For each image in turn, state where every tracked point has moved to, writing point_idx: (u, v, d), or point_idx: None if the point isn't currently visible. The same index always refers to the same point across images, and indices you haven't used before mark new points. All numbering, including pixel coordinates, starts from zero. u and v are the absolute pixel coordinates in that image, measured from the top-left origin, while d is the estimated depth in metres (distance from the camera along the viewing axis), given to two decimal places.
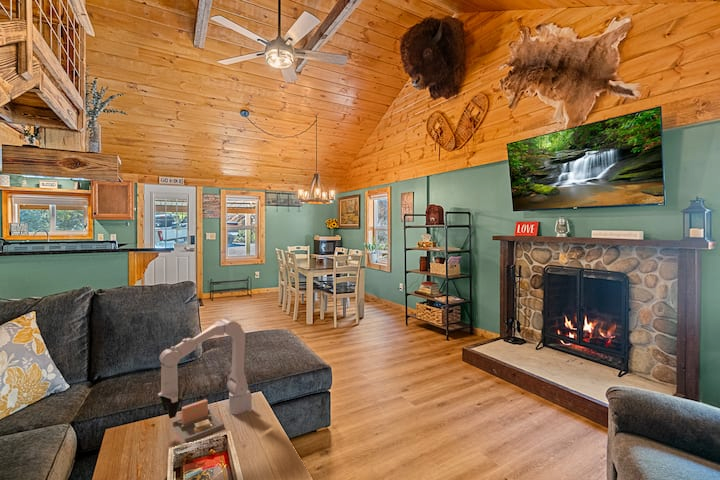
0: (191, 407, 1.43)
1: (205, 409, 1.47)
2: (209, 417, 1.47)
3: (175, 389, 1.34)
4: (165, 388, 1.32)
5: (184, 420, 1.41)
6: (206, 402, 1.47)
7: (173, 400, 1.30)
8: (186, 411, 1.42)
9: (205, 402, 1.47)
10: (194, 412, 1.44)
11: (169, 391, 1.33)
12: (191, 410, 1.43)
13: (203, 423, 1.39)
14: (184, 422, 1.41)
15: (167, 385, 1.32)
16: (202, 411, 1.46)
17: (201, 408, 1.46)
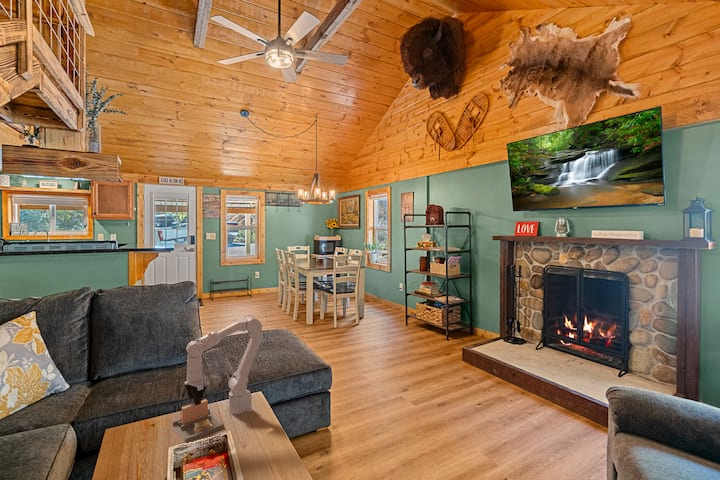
0: (191, 407, 1.43)
1: (205, 409, 1.47)
2: (209, 417, 1.47)
3: (200, 378, 1.44)
4: (191, 377, 1.42)
5: (184, 420, 1.41)
6: (206, 402, 1.47)
7: (199, 388, 1.39)
8: (186, 411, 1.42)
9: (205, 402, 1.47)
10: (194, 412, 1.44)
11: (195, 379, 1.42)
12: (191, 410, 1.43)
13: (203, 423, 1.39)
14: (184, 422, 1.41)
15: (193, 374, 1.42)
16: (202, 411, 1.46)
17: (201, 408, 1.46)
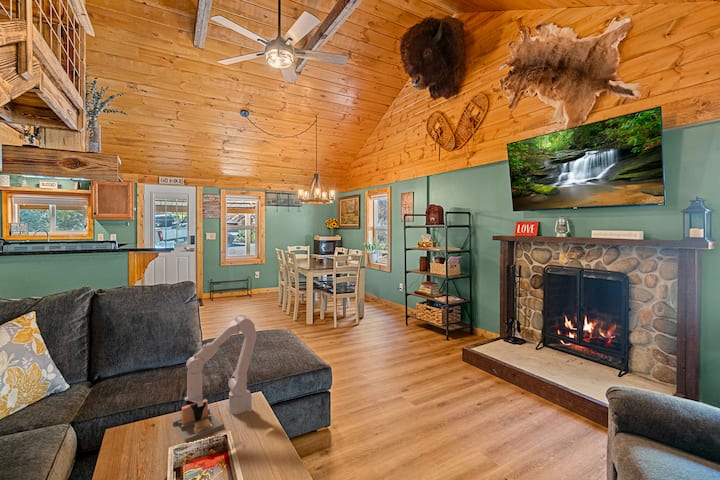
0: None
1: (205, 409, 1.47)
2: (209, 417, 1.47)
3: (200, 394, 1.44)
4: (191, 393, 1.42)
5: (184, 420, 1.41)
6: (206, 402, 1.47)
7: (199, 404, 1.39)
8: (186, 411, 1.42)
9: (205, 402, 1.47)
10: None
11: (195, 395, 1.42)
12: (191, 410, 1.43)
13: (203, 423, 1.39)
14: (184, 422, 1.41)
15: (193, 390, 1.42)
16: None
17: None
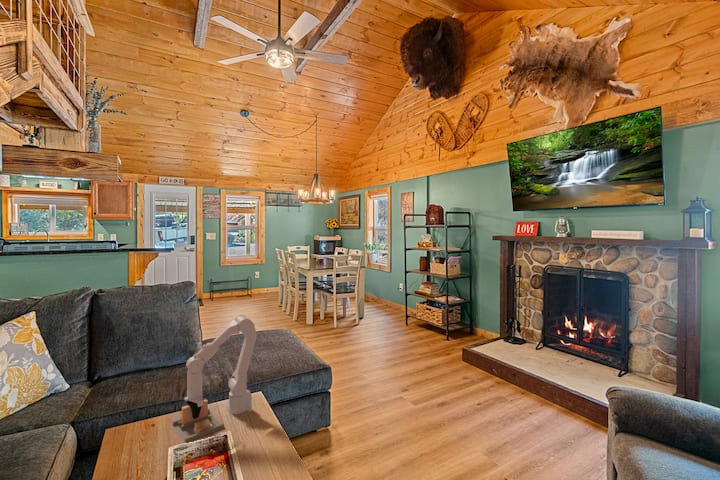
0: None
1: (205, 409, 1.47)
2: (209, 417, 1.47)
3: (200, 394, 1.44)
4: (191, 393, 1.42)
5: (184, 420, 1.41)
6: (206, 402, 1.47)
7: (199, 404, 1.39)
8: (186, 411, 1.42)
9: (205, 402, 1.47)
10: None
11: (195, 395, 1.42)
12: (191, 410, 1.43)
13: (203, 423, 1.39)
14: (184, 422, 1.41)
15: (193, 390, 1.42)
16: (202, 411, 1.46)
17: (201, 408, 1.46)
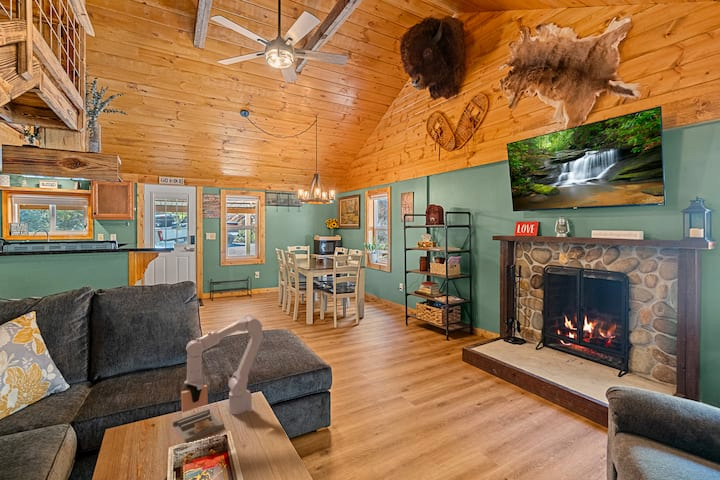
0: None
1: (205, 394, 1.47)
2: (209, 417, 1.47)
3: (200, 377, 1.44)
4: (191, 376, 1.42)
5: (184, 405, 1.41)
6: (206, 387, 1.47)
7: (199, 387, 1.39)
8: (186, 396, 1.42)
9: (205, 387, 1.47)
10: None
11: (194, 379, 1.42)
12: (191, 395, 1.43)
13: (203, 423, 1.39)
14: (184, 407, 1.41)
15: (193, 374, 1.42)
16: (202, 396, 1.46)
17: (201, 393, 1.46)
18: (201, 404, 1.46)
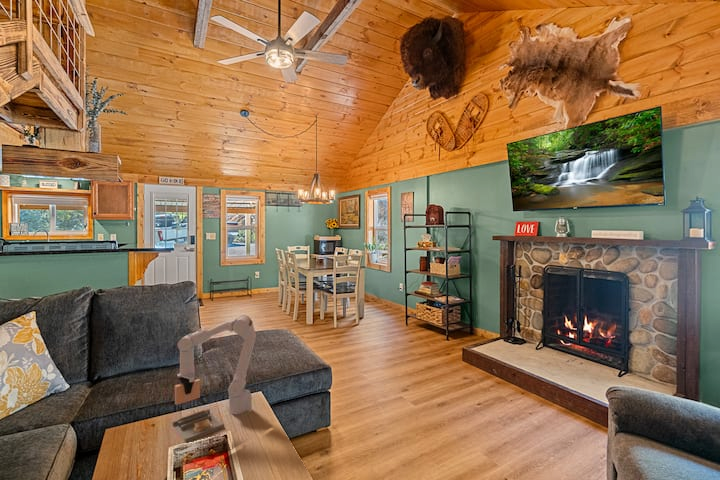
0: None
1: (197, 388, 1.54)
2: (209, 417, 1.47)
3: (192, 371, 1.51)
4: (184, 370, 1.49)
5: (177, 398, 1.48)
6: (198, 381, 1.54)
7: (191, 380, 1.46)
8: (179, 389, 1.49)
9: (197, 381, 1.54)
10: None
11: (187, 372, 1.49)
12: None
13: (203, 423, 1.39)
14: (177, 399, 1.48)
15: (185, 367, 1.49)
16: (194, 390, 1.53)
17: (194, 387, 1.53)
18: (194, 397, 1.53)
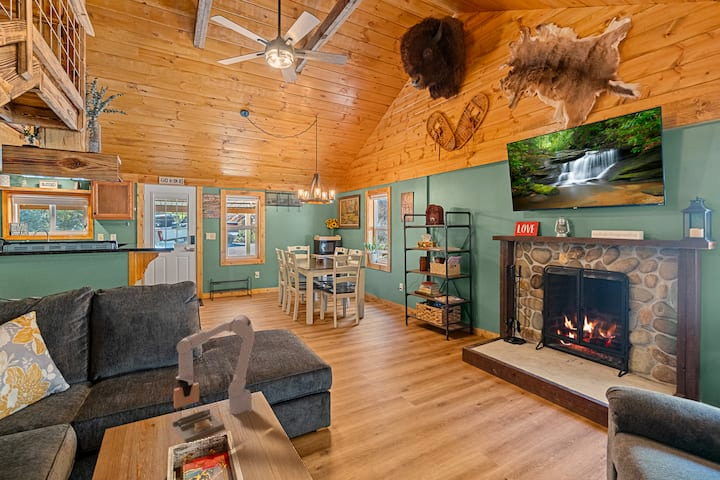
0: None
1: (196, 392, 1.54)
2: (209, 417, 1.47)
3: (191, 373, 1.51)
4: (182, 372, 1.48)
5: (176, 401, 1.48)
6: (197, 385, 1.54)
7: (190, 382, 1.46)
8: (178, 393, 1.48)
9: (196, 385, 1.54)
10: None
11: (186, 374, 1.49)
12: None
13: (203, 423, 1.39)
14: (176, 403, 1.48)
15: (184, 369, 1.49)
16: (193, 393, 1.53)
17: (192, 390, 1.53)
18: (193, 401, 1.53)
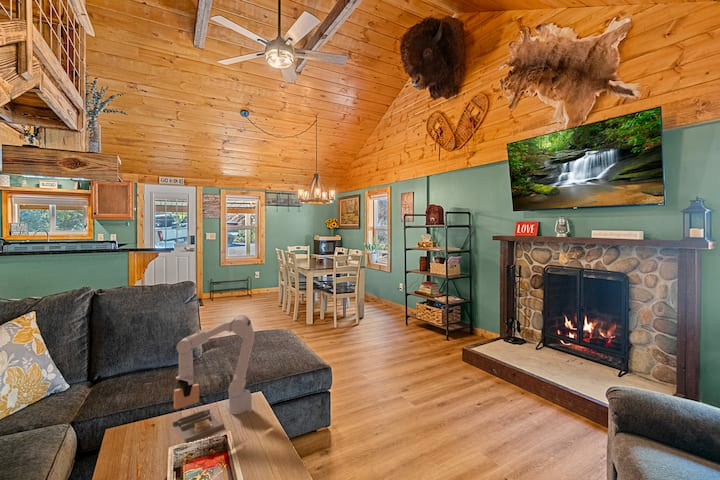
0: None
1: (196, 393, 1.54)
2: (209, 417, 1.47)
3: (191, 373, 1.51)
4: (182, 372, 1.48)
5: (176, 402, 1.48)
6: (197, 386, 1.54)
7: (190, 382, 1.46)
8: (178, 394, 1.48)
9: (197, 386, 1.54)
10: None
11: (186, 374, 1.49)
12: None
13: (203, 423, 1.39)
14: (176, 404, 1.48)
15: (184, 369, 1.49)
16: (193, 394, 1.53)
17: (193, 391, 1.53)
18: (192, 402, 1.53)
